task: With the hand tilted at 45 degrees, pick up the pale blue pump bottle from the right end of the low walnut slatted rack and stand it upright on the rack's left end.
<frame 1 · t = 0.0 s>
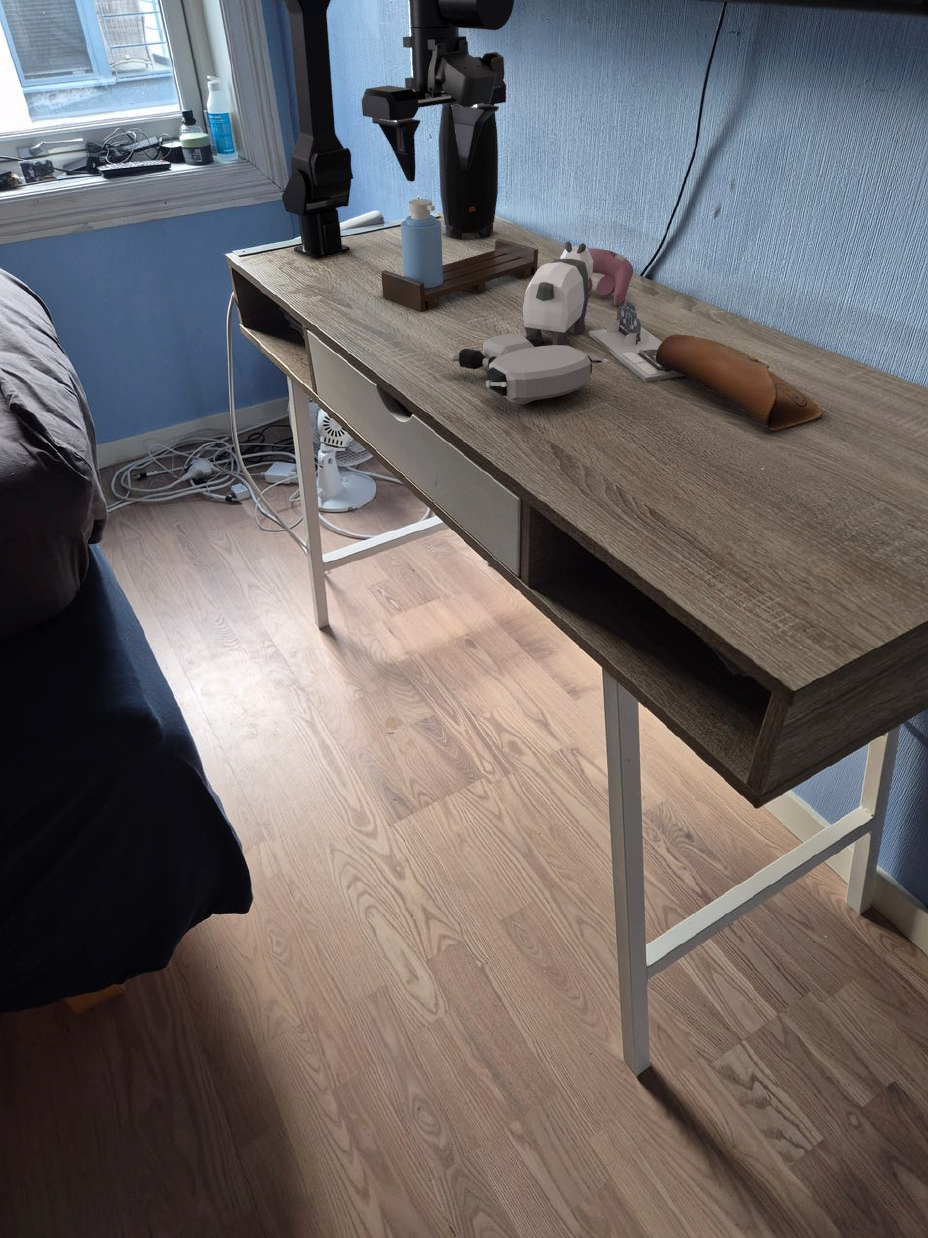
hand: (438, 174, 110), 15 cm above the table, tool pointing down, fingers open, 9 cm apart
video game controller: (592, 298, 117), on the table
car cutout: (641, 354, 101), on the table, touching sunglasses case
bottle: (423, 282, 116), point 2 cm above the table, touching rack
sunglasses case: (734, 393, 92), on the table, touching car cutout
rack: (462, 285, 121), on the table
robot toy: (523, 388, 94), on the table
portable speaker: (469, 234, 142), on the table
giant panda: (559, 334, 106), on the table
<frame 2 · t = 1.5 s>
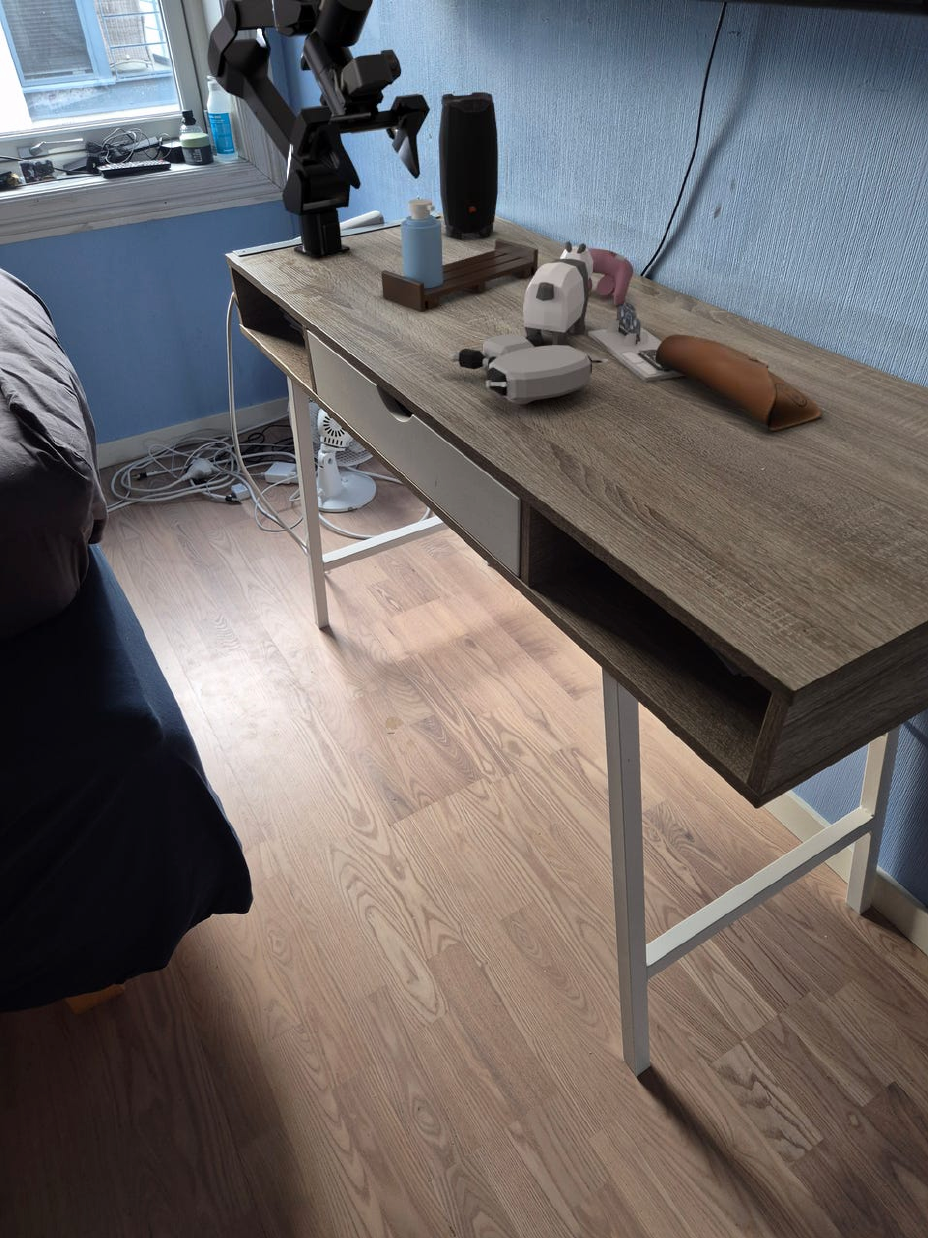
hand: (388, 181, 114), 13 cm above the table, tool tilted 45°, fingers open, 9 cm apart
nothing on the table moved.
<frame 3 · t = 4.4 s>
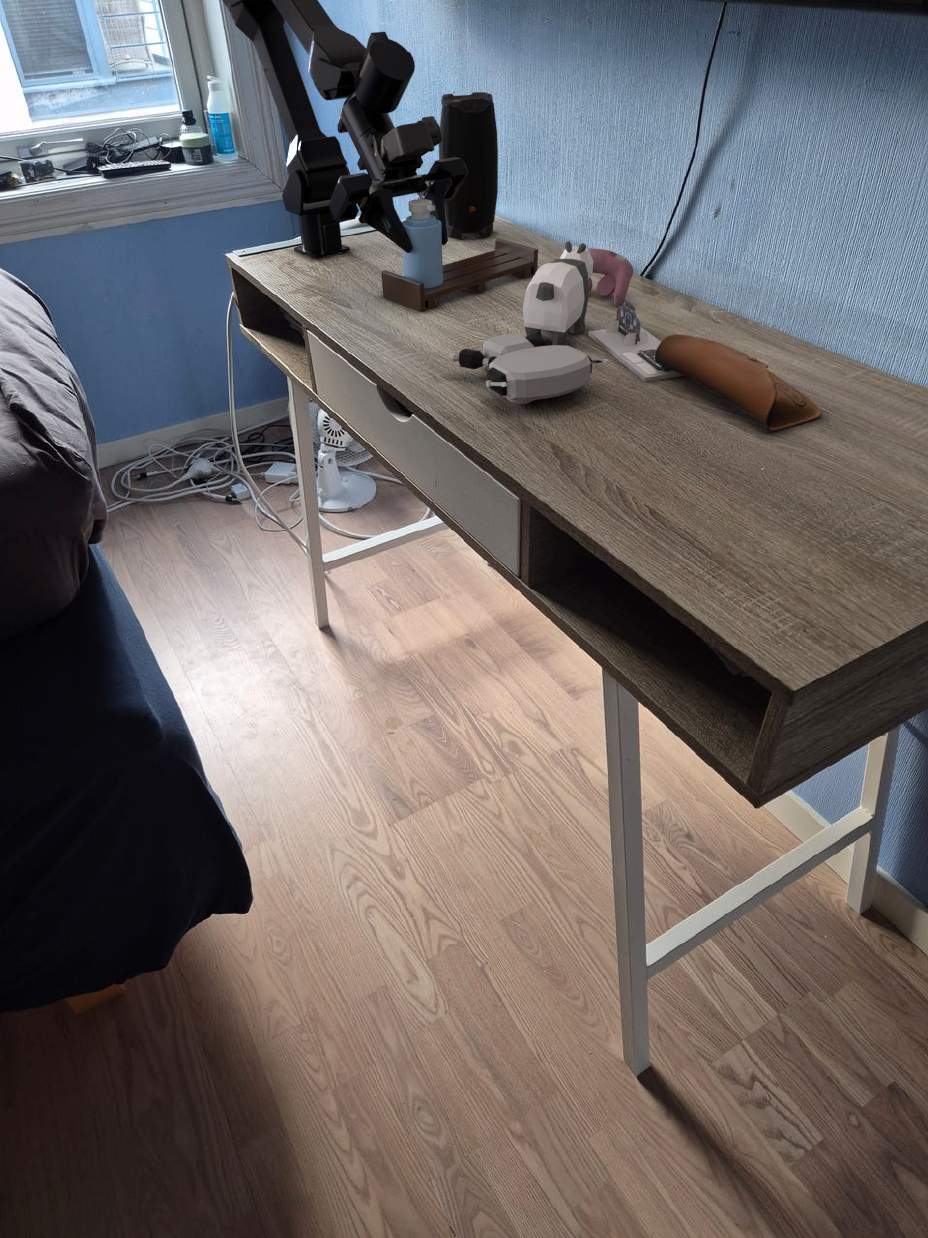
hand: (428, 247, 112), 7 cm above the table, tool tilted 45°, fingers closed on bottle, 5 cm apart
bottle: (423, 282, 116), point 2 cm above the table, touching gripper, rack
everything else where it was.
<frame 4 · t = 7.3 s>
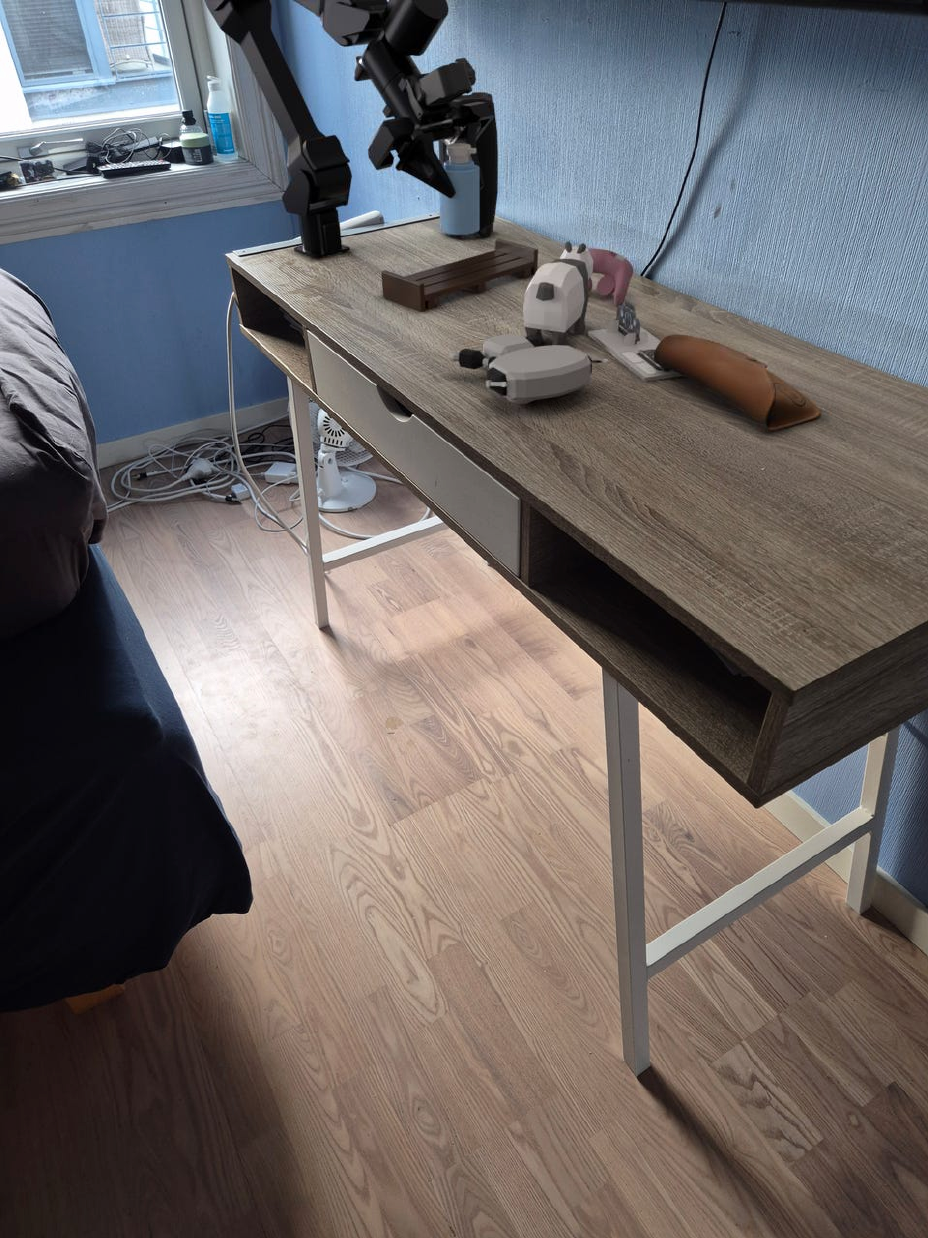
hand: (467, 191, 112), 12 cm above the table, tool tilted 45°, fingers closed on bottle, 5 cm apart
bottle: (459, 229, 116), point 8 cm above the table, touching gripper
everything else where it was.
when the fingers open (7 cm above the table, at t = 10.6 s): bottle stays where it is, resting on rack.
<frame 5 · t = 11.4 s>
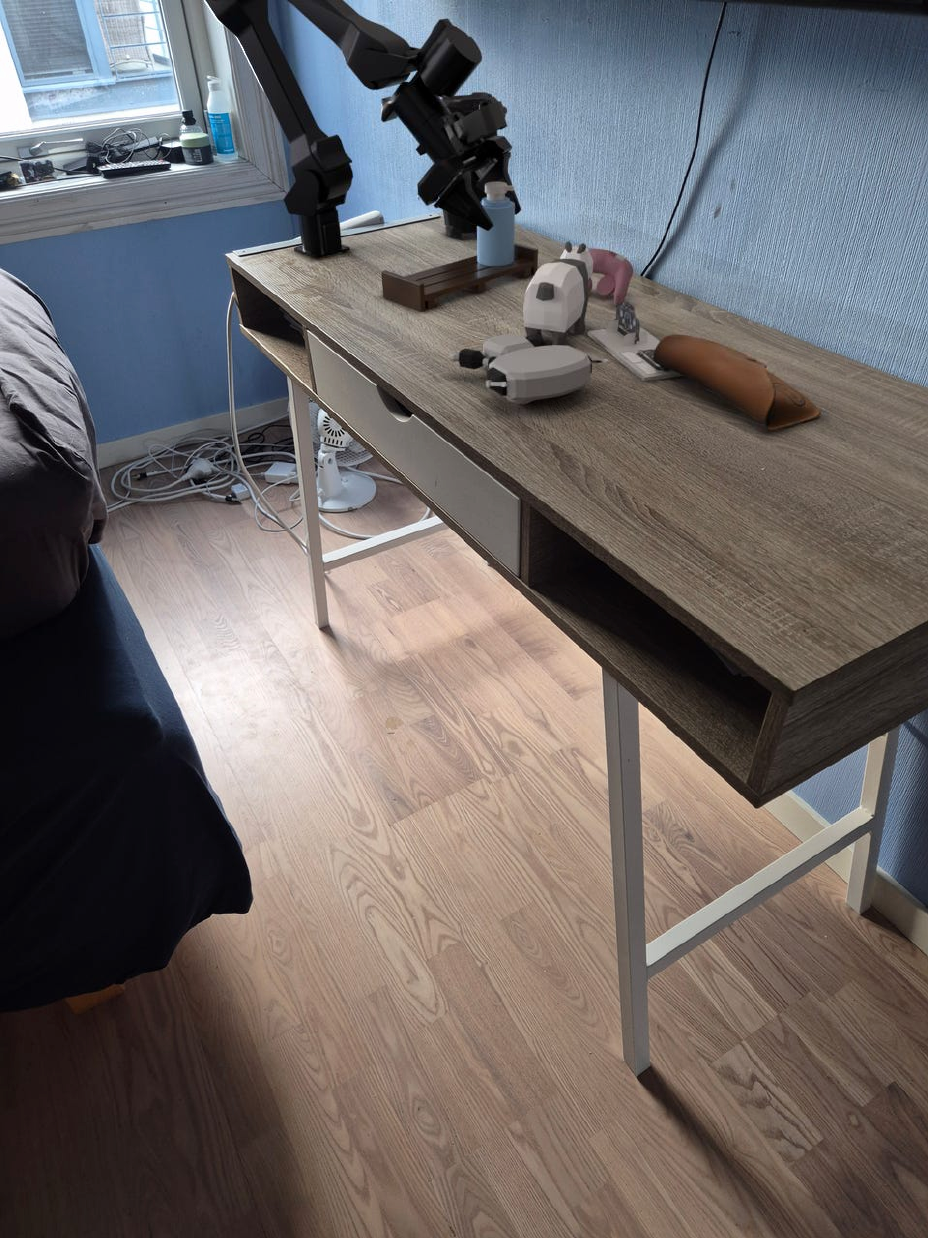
hand: (505, 220, 119), 8 cm above the table, tool tilted 45°, fingers open, 9 cm apart
bottle: (495, 260, 123), point 2 cm above the table, touching rack
everything else where it was.
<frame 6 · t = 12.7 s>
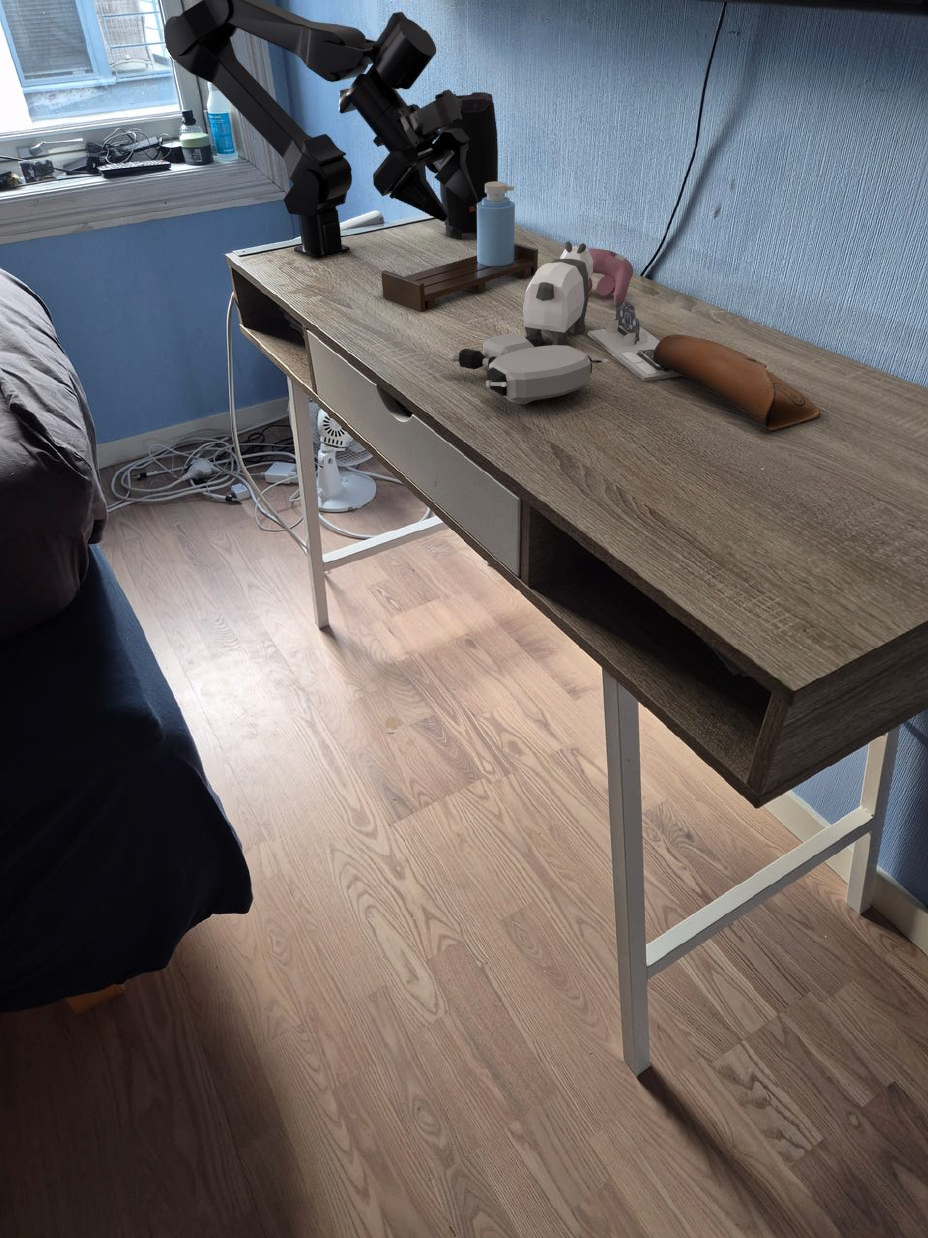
hand: (461, 211, 122), 8 cm above the table, tool tilted 45°, fingers open, 9 cm apart
nothing on the table moved.
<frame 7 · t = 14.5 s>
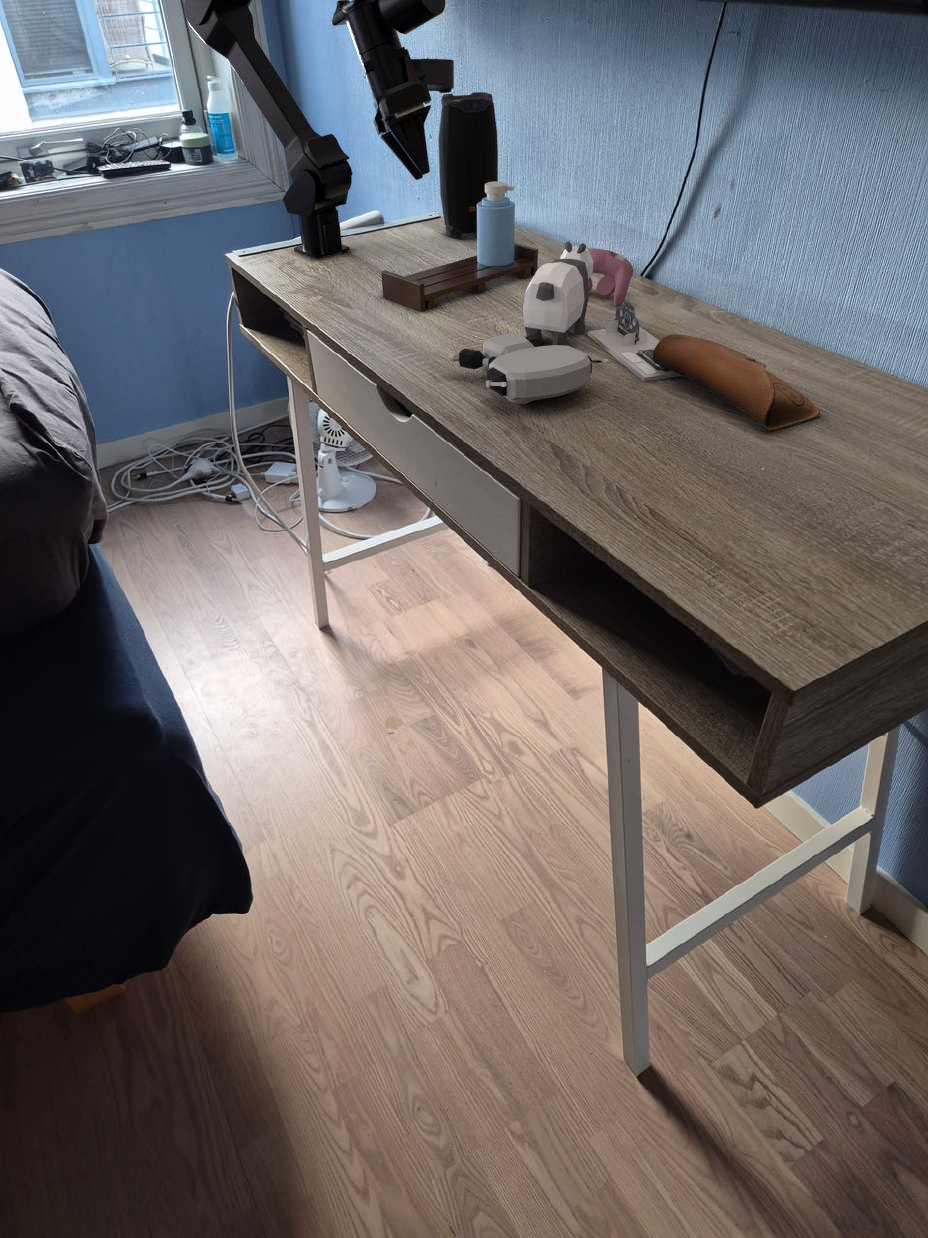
hand: (422, 176, 119), 12 cm above the table, tool tilted 25°, fingers open, 9 cm apart
nothing on the table moved.
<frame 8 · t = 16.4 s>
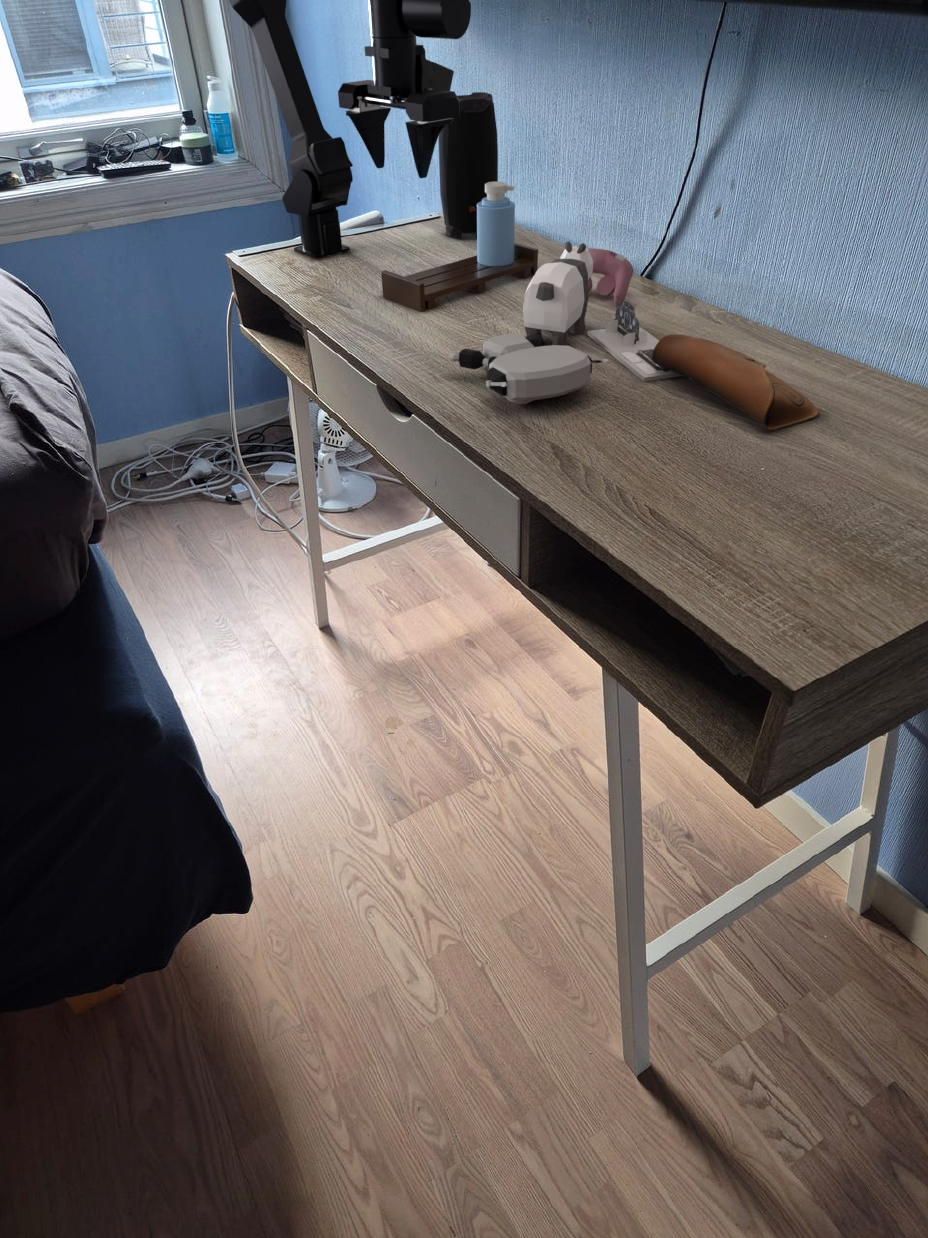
hand: (401, 172, 119), 13 cm above the table, tool pointing down, fingers open, 9 cm apart
nothing on the table moved.
at the end: bottle inside the target area on the rack (0.4 cm from its centre), point 2.0 cm above the rack's base; bottle tilted 0°; the gripper is holding nothing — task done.
